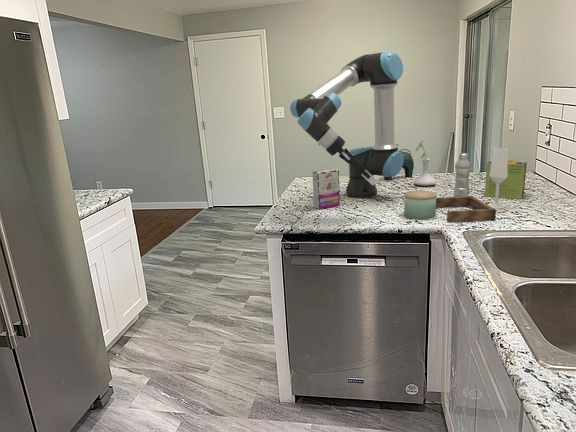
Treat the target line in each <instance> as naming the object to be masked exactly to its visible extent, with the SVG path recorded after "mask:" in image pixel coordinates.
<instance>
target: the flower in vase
mask: <svg viewBox="0 0 576 432" xmlns="http://www.w3.org/2000/svg"><path fill="white" fill-rule="evenodd" d="M424 140H425V138H424V137H422V138H421V140H420V142H419V143H418V146H416V149H415V150H414V151H415V152H418V151H419V149H420V148H421V147H422V149H423V153H422V155H421V158H420V160H421V163H422V173H421V174H420V175H419V176H417V177H416V178H415V179H414V180H413V183H414V185H417V186H422V187H428V186H434V185H436V183H437V179H435V178H434V177H433V176H432V175H430V174H429V172H428V169H429V163H430V161H431V158H427V157H428V156H429V153H428V152H427V151H425V148H424V146H423V142H424Z"/></svg>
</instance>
